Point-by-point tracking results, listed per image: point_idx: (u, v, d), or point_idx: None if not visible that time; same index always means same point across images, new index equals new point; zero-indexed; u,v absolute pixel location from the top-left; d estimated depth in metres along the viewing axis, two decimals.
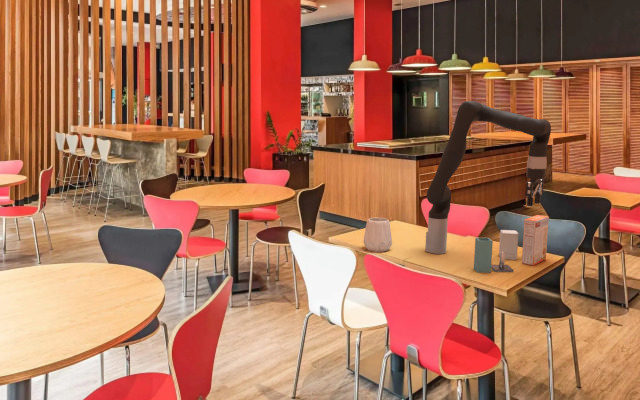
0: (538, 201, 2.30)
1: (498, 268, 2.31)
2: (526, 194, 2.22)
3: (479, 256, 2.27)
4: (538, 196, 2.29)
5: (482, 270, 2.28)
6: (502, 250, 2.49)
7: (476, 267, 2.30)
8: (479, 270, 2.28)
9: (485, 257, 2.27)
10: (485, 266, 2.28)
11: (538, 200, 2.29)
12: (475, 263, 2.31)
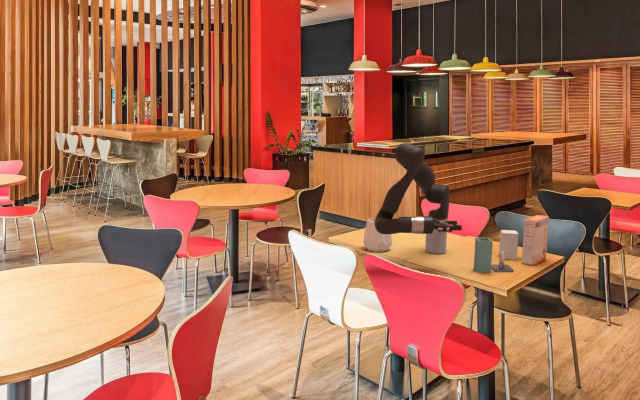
0: None
1: (498, 268, 2.31)
2: (443, 220, 2.35)
3: (479, 256, 2.27)
4: None
5: (482, 270, 2.28)
6: (502, 250, 2.49)
7: (476, 267, 2.30)
8: (479, 270, 2.28)
9: (485, 257, 2.27)
10: (485, 266, 2.28)
11: None
12: (475, 263, 2.31)
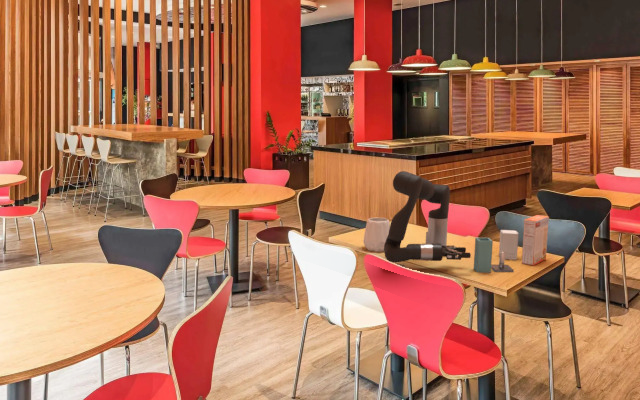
0: None
1: (498, 268, 2.31)
2: (452, 246, 2.37)
3: (479, 256, 2.27)
4: None
5: (482, 270, 2.28)
6: (502, 250, 2.49)
7: (476, 267, 2.30)
8: (479, 270, 2.28)
9: (485, 257, 2.27)
10: (485, 266, 2.28)
11: None
12: (475, 263, 2.31)
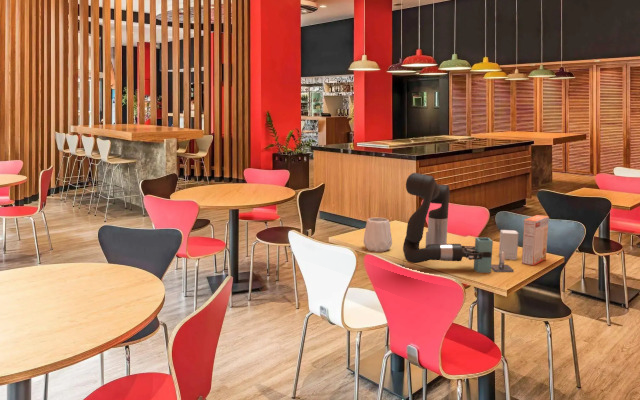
0: None
1: (498, 268, 2.31)
2: (473, 247, 2.36)
3: None
4: None
5: (482, 270, 2.28)
6: (502, 250, 2.49)
7: (476, 267, 2.30)
8: (479, 270, 2.28)
9: None
10: (485, 266, 2.28)
11: None
12: (475, 263, 2.31)
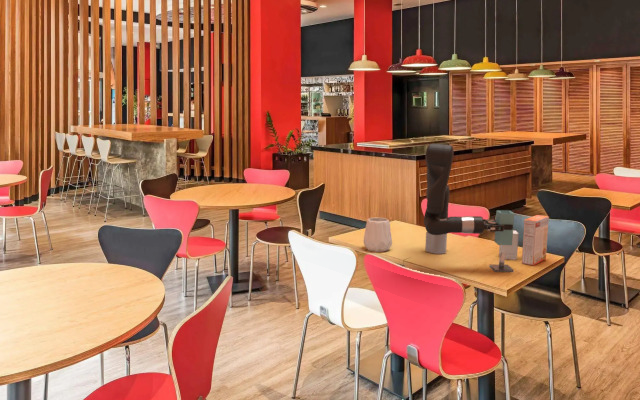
0: None
1: (498, 268, 2.31)
2: None
3: (500, 228, 2.27)
4: None
5: (503, 242, 2.28)
6: (502, 250, 2.49)
7: (497, 240, 2.30)
8: (500, 242, 2.28)
9: None
10: (506, 238, 2.28)
11: None
12: (496, 236, 2.31)
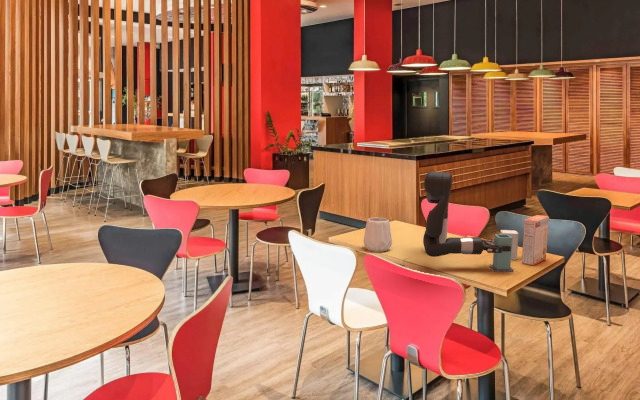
0: None
1: None
2: (490, 240, 2.38)
3: (499, 253, 2.29)
4: None
5: (502, 266, 2.30)
6: None
7: (495, 264, 2.32)
8: (499, 266, 2.30)
9: (504, 254, 2.29)
10: (505, 263, 2.30)
11: None
12: (494, 260, 2.33)
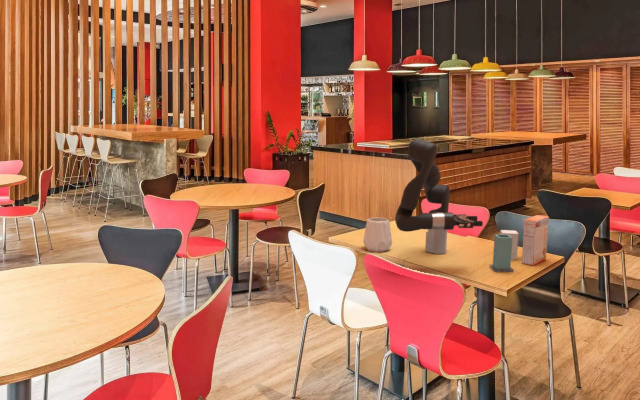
0: None
1: None
2: (463, 215, 2.36)
3: (499, 253, 2.29)
4: None
5: (502, 266, 2.30)
6: None
7: (495, 264, 2.32)
8: (499, 266, 2.30)
9: (504, 254, 2.29)
10: (505, 263, 2.30)
11: None
12: (494, 260, 2.33)
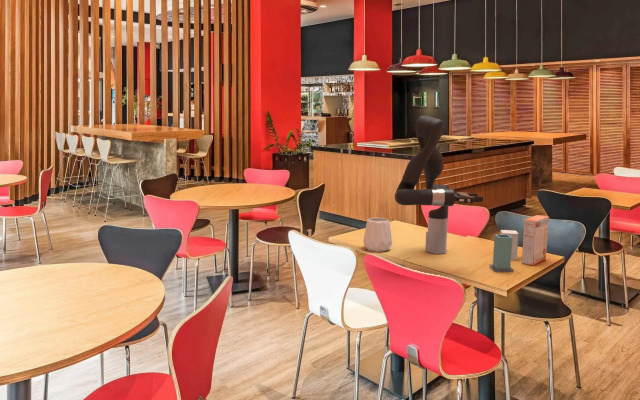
0: None
1: None
2: (463, 193, 2.34)
3: (499, 253, 2.29)
4: None
5: (502, 266, 2.30)
6: None
7: (495, 264, 2.32)
8: (499, 266, 2.30)
9: (504, 254, 2.29)
10: (505, 263, 2.30)
11: None
12: (494, 260, 2.33)
